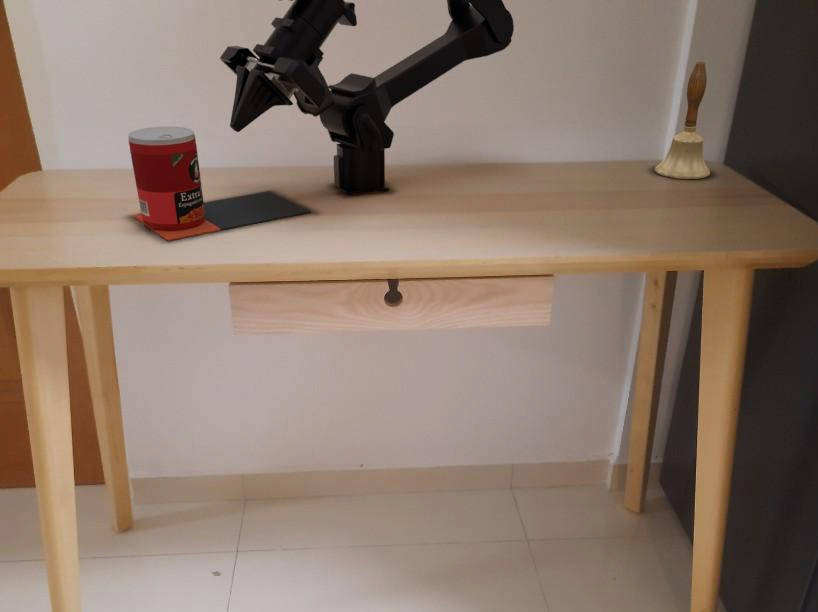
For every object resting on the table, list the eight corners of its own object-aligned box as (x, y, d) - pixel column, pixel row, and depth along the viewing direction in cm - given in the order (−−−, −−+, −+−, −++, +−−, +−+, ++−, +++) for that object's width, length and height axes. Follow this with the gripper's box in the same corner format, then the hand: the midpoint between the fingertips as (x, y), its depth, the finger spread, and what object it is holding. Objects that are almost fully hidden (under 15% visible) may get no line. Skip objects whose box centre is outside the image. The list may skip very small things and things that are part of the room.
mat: (269, 192, 112) (269, 191, 111) (311, 212, 103) (311, 211, 103) (183, 207, 105) (183, 206, 105) (221, 230, 97) (221, 228, 97)
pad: (183, 207, 105) (183, 206, 105) (221, 230, 97) (221, 228, 97) (132, 216, 102) (132, 215, 101) (167, 241, 93) (167, 239, 93)
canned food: (190, 233, 95) (177, 140, 89) (131, 229, 97) (114, 137, 91) (216, 215, 101) (205, 127, 96) (159, 211, 103) (146, 124, 97)
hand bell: (682, 182, 117) (703, 67, 108) (643, 169, 123) (660, 60, 115) (721, 175, 120) (745, 63, 112) (681, 164, 126) (701, 57, 118)
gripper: (383, 82, 98) (312, 183, 98) (308, 66, 111) (245, 155, 111) (327, 15, 90) (249, 125, 90) (253, 6, 103) (186, 102, 103)
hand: (233, 129), depth 98 cm, fingers closed
